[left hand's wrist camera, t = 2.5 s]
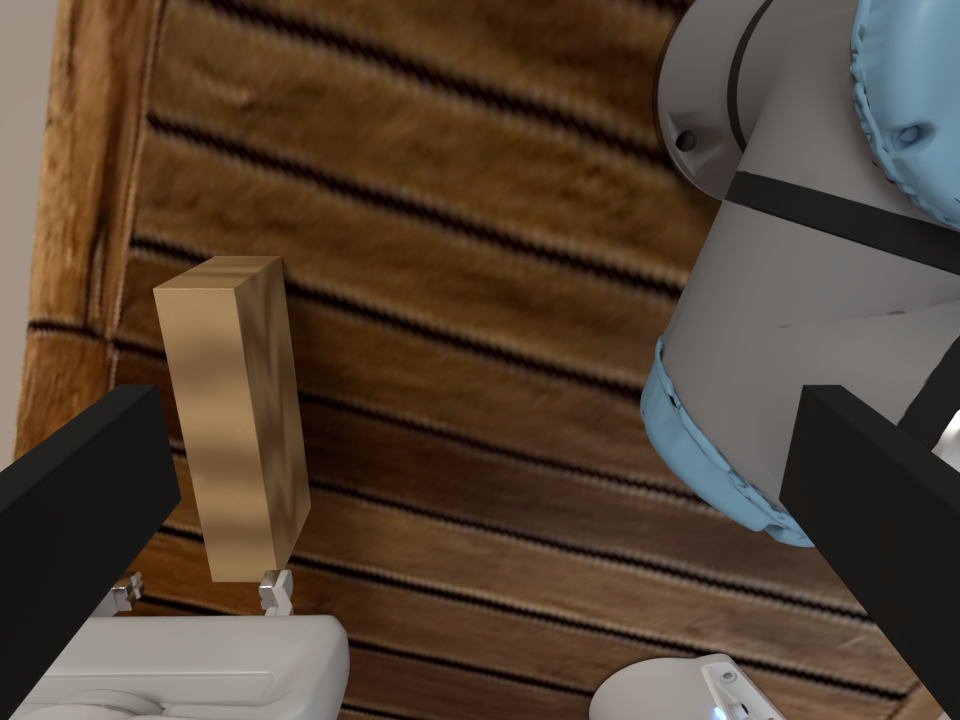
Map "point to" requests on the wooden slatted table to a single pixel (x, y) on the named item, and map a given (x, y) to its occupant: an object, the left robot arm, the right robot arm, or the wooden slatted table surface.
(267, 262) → the bar
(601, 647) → the wooden slatted table surface
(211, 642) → the right robot arm
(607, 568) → the wooden slatted table surface
